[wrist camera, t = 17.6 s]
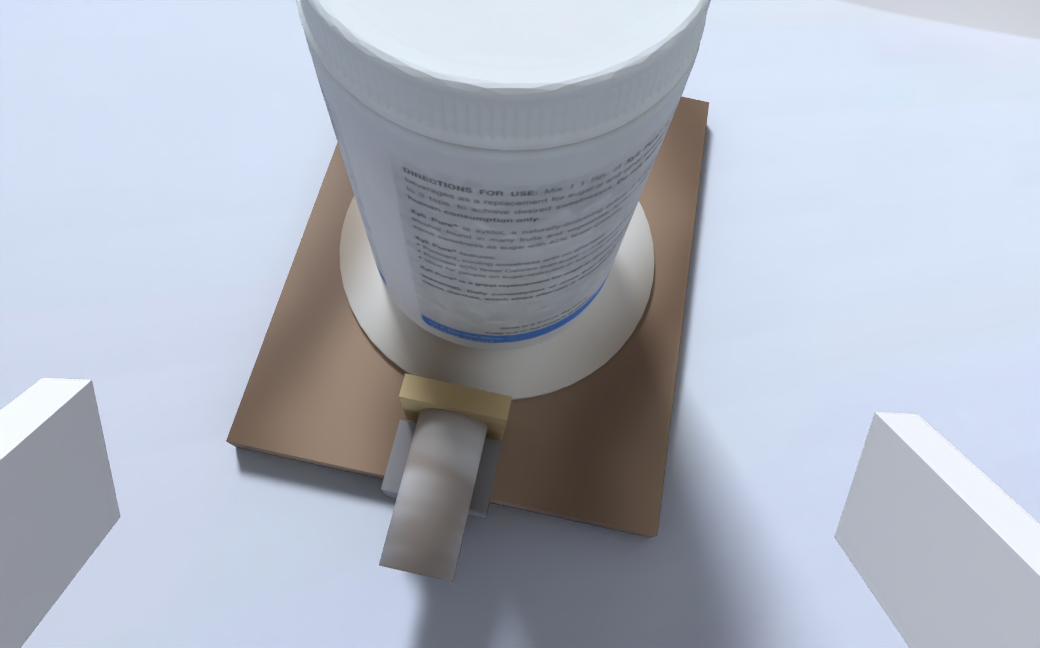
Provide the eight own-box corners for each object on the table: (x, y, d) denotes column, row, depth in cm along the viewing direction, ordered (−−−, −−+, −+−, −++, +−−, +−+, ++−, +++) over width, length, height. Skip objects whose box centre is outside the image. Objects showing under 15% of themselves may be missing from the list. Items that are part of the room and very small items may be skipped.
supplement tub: (650, 240, 28) (820, -82, 15) (509, 408, 25) (558, 196, 12) (475, 114, 30) (482, -278, 16) (323, 256, 27) (175, -82, 13)
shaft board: (205, 527, 24) (149, 514, 20) (397, 2, 34) (387, -82, 30) (639, 623, 24) (676, 630, 20) (708, 69, 34) (742, -6, 30)
